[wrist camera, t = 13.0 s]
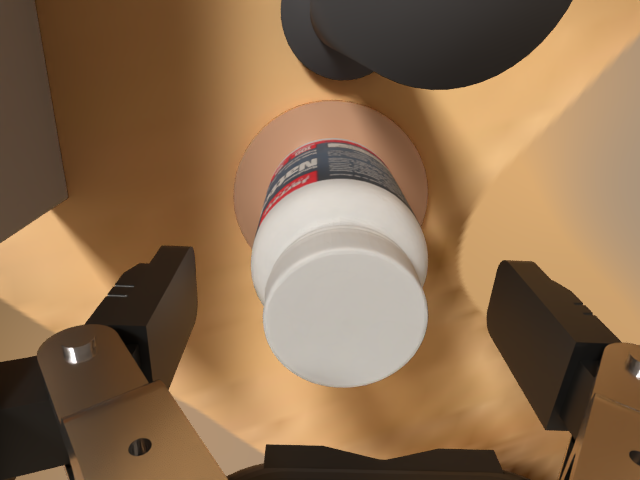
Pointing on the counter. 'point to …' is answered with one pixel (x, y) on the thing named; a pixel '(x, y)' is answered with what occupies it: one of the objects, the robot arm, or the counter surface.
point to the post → (417, 37)
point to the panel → (26, 123)
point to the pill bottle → (339, 266)
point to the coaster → (322, 124)
